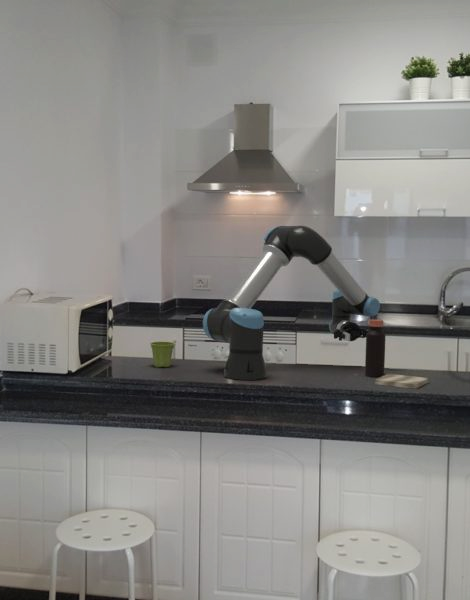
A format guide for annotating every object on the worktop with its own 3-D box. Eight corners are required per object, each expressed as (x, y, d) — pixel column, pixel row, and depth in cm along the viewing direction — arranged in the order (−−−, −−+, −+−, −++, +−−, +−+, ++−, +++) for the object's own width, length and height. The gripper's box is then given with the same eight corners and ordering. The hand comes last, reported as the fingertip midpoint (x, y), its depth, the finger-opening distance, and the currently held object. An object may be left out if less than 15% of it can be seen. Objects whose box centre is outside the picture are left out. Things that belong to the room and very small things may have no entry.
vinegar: (363, 376, 251) (365, 320, 250) (366, 373, 258) (368, 318, 256) (382, 378, 249) (384, 321, 248) (385, 375, 255) (387, 319, 254)
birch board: (374, 384, 237) (374, 379, 237) (388, 378, 249) (388, 373, 249) (416, 388, 230) (416, 384, 230) (428, 382, 242) (428, 378, 242)
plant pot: (179, 365, 267) (180, 343, 266) (164, 369, 259) (164, 345, 258) (160, 363, 272) (160, 340, 271) (144, 366, 264) (144, 343, 263)
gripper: (378, 339, 284) (398, 347, 264) (317, 340, 280) (333, 348, 260) (378, 321, 284) (399, 327, 263) (318, 321, 280) (334, 327, 259)
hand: (366, 337), depth 261 cm, fingers open, 13 cm apart
